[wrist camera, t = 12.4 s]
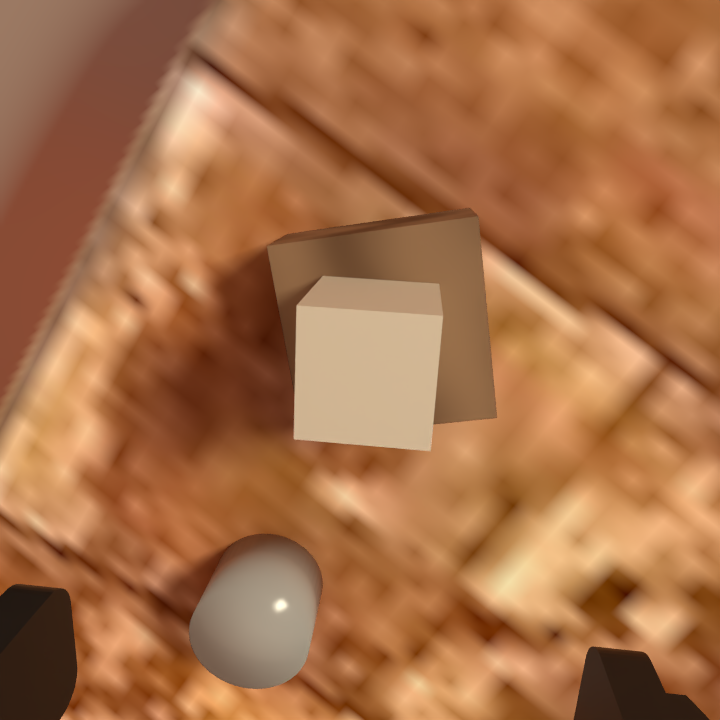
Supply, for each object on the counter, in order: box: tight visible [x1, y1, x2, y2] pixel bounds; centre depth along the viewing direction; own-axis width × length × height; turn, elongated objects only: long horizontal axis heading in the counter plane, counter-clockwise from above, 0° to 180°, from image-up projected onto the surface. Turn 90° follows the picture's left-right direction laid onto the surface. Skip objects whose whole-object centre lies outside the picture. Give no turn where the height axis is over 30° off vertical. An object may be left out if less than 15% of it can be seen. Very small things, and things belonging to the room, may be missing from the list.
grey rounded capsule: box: [189, 534, 323, 689], centre depth 36 cm, size 6×6×5 cm
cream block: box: [294, 276, 443, 451], centre depth 25 cm, size 5×5×6 cm
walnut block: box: [267, 208, 497, 424], centre depth 30 cm, size 9×9×5 cm
